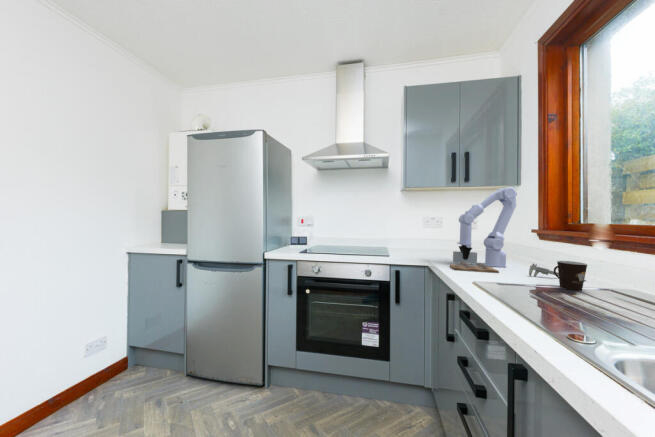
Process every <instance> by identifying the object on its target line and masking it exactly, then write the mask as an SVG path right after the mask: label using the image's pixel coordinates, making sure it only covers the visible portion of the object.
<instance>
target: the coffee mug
mask: <svg viewBox="0 0 655 437" xmlns="http://www.w3.org/2000/svg"><path fill="white" fill-rule="evenodd" d="M556 262H557V266H554V268H553V271H554V274H555V275H554V276H555V277H556V278H558V279H559V280H558V281H559V287H560V288H561V287H562V288H561V289H564V288H565V289H564V290H568V289H569V291H576V292H578V291H581V292H582V291H583V287H584V284H585V281H584V280H585V277H586V273H587V268H588V264H587V263H584V262H580V261H570V260H557V261H556ZM557 270H558V271H557ZM556 272H558V273H559V276H558V275H557V274H556Z"/></svg>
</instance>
